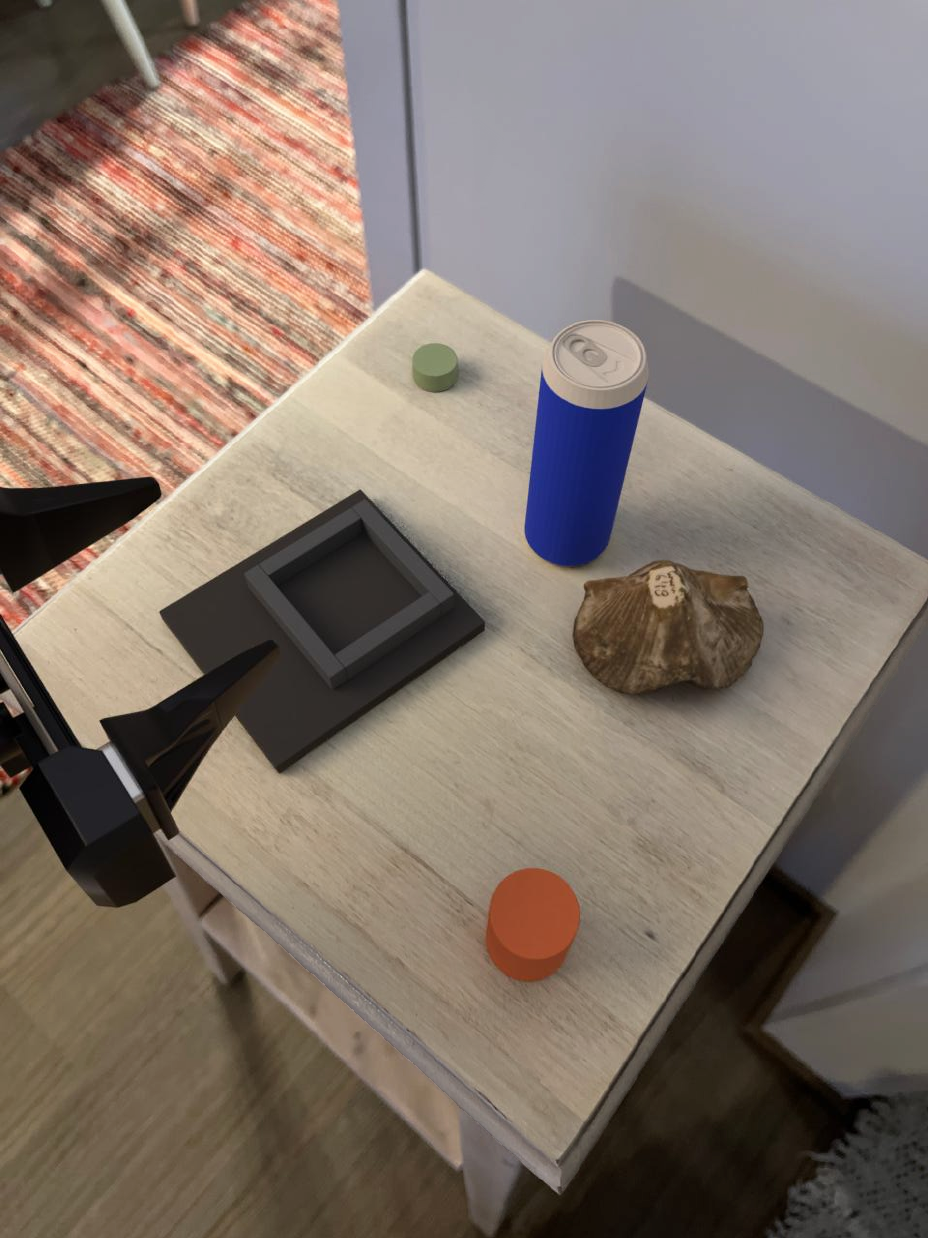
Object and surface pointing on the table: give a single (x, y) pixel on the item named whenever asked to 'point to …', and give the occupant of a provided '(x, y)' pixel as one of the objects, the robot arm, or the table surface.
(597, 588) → the fossilized seashell
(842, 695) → the table surface
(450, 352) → the pad
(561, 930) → the orange cylinder
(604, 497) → the beverage can
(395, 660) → the base pad
